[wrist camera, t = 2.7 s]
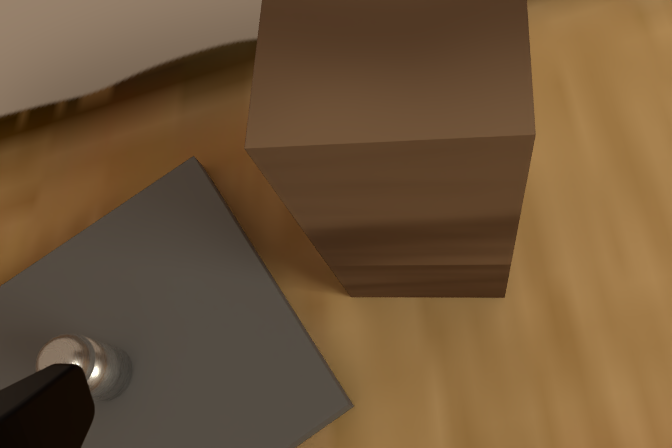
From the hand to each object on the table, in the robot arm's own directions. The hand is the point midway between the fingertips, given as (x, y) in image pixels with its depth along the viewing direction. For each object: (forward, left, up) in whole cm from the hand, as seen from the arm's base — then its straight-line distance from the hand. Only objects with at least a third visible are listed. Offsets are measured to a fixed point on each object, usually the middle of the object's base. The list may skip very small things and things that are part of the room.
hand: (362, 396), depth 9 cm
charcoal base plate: (-9, +8, -13) cm, 18 cm away
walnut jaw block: (+4, +6, -13) cm, 15 cm away
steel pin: (-9, +8, -13) cm, 18 cm away
